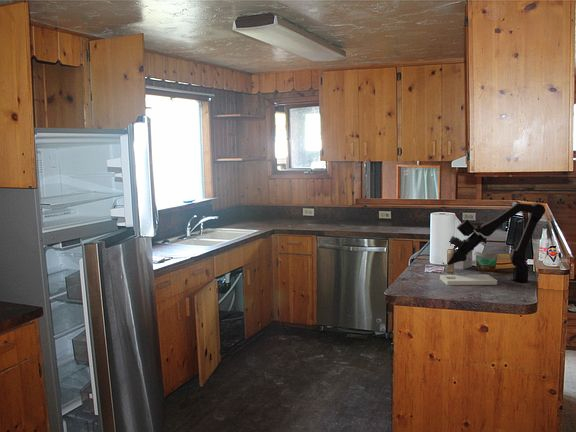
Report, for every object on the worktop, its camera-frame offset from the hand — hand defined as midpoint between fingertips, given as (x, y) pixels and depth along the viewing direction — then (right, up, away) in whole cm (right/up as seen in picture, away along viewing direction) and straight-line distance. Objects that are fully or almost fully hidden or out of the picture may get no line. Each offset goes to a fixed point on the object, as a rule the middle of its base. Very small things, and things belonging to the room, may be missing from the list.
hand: (447, 263), depth 269 cm
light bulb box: (+15, -4, +23) cm, 27 cm away
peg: (+1, -7, +1) cm, 7 cm away
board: (+7, -8, -9) cm, 14 cm away
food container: (+25, -5, +14) cm, 29 cm away
